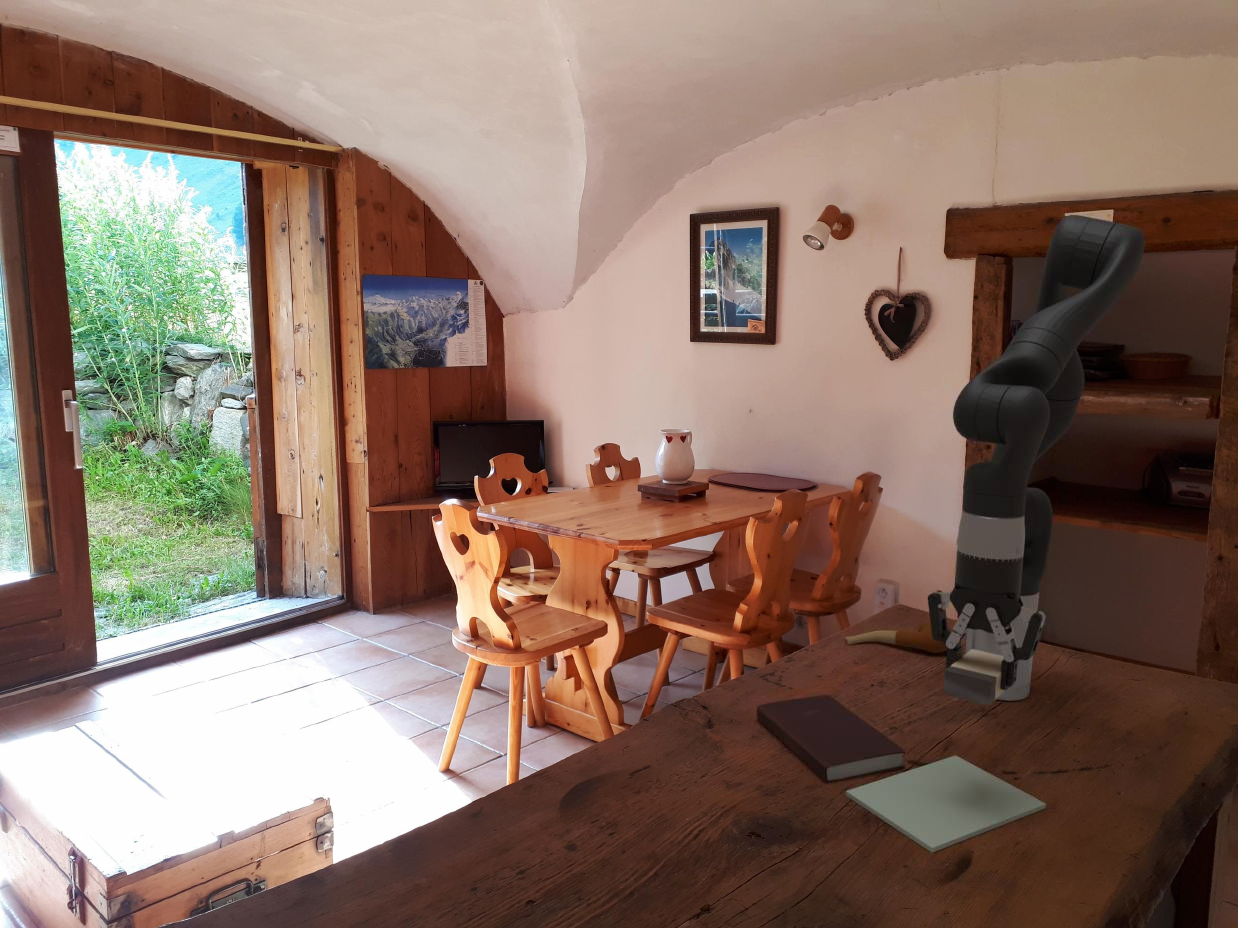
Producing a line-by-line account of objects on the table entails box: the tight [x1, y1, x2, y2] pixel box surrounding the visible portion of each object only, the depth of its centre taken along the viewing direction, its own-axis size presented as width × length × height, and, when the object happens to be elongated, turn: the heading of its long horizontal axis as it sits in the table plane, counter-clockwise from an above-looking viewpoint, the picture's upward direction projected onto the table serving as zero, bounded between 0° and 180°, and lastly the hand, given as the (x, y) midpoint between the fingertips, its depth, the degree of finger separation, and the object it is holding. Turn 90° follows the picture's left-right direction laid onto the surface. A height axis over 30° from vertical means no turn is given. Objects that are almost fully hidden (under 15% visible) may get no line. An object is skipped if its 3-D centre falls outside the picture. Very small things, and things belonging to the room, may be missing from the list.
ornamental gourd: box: [844, 618, 952, 654], centre depth 168 cm, size 7×18×6 cm, turn 87°
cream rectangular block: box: [942, 649, 1005, 707], centre depth 116 cm, size 10×6×3 cm, turn 142°
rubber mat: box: [845, 754, 1047, 854], centre depth 117 cm, size 14×20×1 cm
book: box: [756, 694, 906, 783], centre depth 132 cm, size 12×19×3 cm, turn 19°
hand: (979, 681), depth 116 cm, fingers closed on cream rectangular block, 5 cm apart
